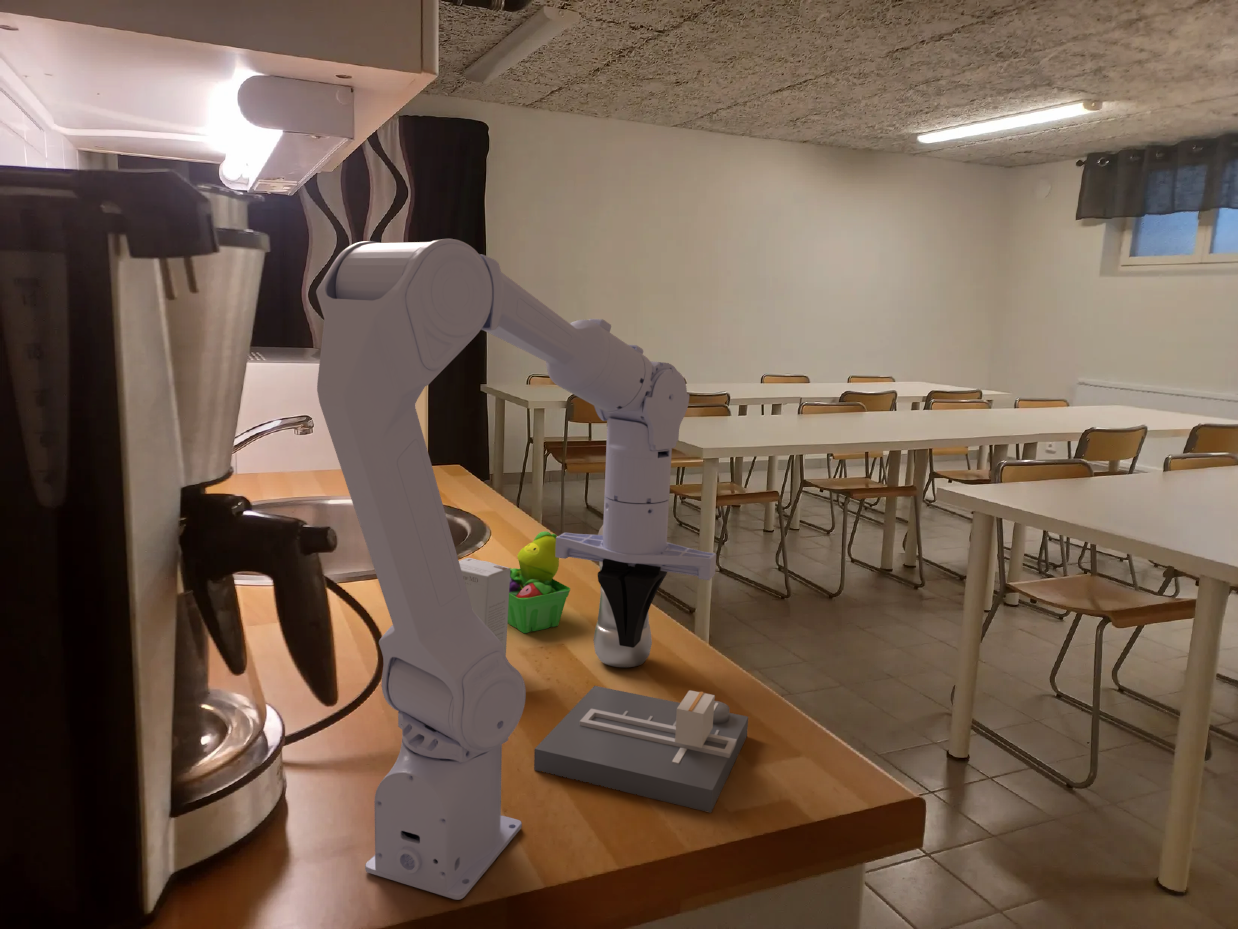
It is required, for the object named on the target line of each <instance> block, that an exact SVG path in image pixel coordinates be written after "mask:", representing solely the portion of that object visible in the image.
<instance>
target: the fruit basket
mask: <svg viewBox="0 0 1238 929" xmlns="http://www.w3.org/2000/svg"><path fill="white" fill-rule="evenodd" d="M556 537H558V535H557V534H556V533H551V532H549V531H546V530H545V531H540V532H538V534H537V535H536V536H535V537H534V539H533V541H532V542H529V543H527V545H525V546H524V547H522V548H521V549H519V550H520V551H518V553H517V561H518V564H519V568H518V567H514V568H511V567H509V568H510V584H509V602H508V623H507V625H510V626H512V627H513V628H515V629H517V630H518V631H520V632H521V633H523V634H529V633H531V632H537V631H542V630H545V629H549V628H553V627H554V628H555V627H558V626H559V625H560V621H561V617H562V614H563V612H564V611H563V610H564V607H565V604H566V601H567V598H568V596H569V594H570V591H571V587H569V586H567V585H565V584H563V583H562V582H559V581H557V580H556V579H554V577H555V576H556V574H557V573H558V570H559V567H560V560H559V559H560V558H557V557H555V554H556Z"/></svg>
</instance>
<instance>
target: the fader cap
mask: <svg viewBox="0 0 1238 929" xmlns="http://www.w3.org/2000/svg"><path fill="white" fill-rule="evenodd" d="M714 701H715V694H710V693H706V692H704V691H695V690H691V689H690V690H688V691H687V693H686V694H685V696H684V698H683V699H682V700H681V702H679V703H680V705H679V706H678V708H677V716H676V734H675V742H676V743H681V744H685V745H690V746H694V747H699V748H702V746H703V744H704V742H705V741H706V739H707V737H708V735H709V733H710V732H711V730H712V728H713V714H714Z"/></svg>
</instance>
